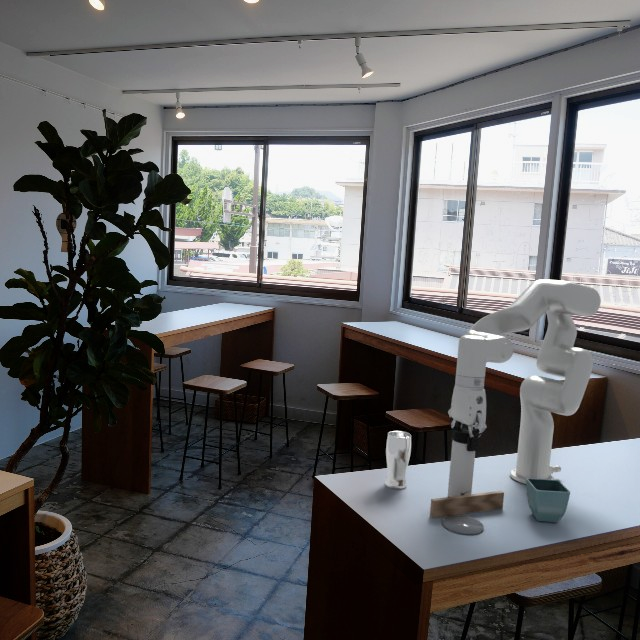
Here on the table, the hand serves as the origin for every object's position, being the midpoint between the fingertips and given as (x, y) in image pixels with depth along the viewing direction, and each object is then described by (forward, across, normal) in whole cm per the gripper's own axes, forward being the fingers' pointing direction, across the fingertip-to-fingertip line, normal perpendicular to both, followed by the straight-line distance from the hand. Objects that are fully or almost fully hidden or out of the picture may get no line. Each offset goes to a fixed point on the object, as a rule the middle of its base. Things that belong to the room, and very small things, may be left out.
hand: (464, 446), depth 169 cm
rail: (+15, -8, +3) cm, 17 cm away
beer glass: (+15, +14, +12) cm, 24 cm away
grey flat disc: (+15, -14, +9) cm, 23 cm away
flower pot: (+15, -16, -15) cm, 27 cm away
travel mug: (+15, 0, 0) cm, 15 cm away
